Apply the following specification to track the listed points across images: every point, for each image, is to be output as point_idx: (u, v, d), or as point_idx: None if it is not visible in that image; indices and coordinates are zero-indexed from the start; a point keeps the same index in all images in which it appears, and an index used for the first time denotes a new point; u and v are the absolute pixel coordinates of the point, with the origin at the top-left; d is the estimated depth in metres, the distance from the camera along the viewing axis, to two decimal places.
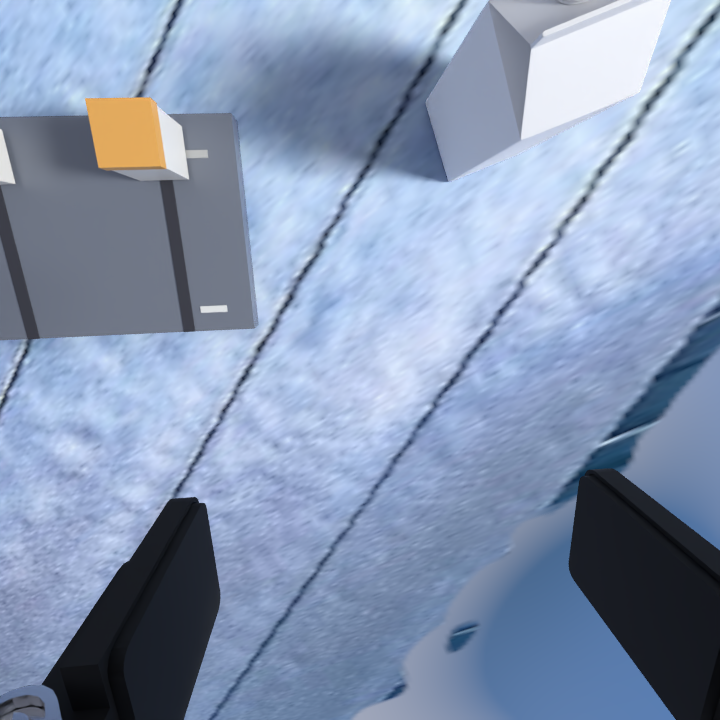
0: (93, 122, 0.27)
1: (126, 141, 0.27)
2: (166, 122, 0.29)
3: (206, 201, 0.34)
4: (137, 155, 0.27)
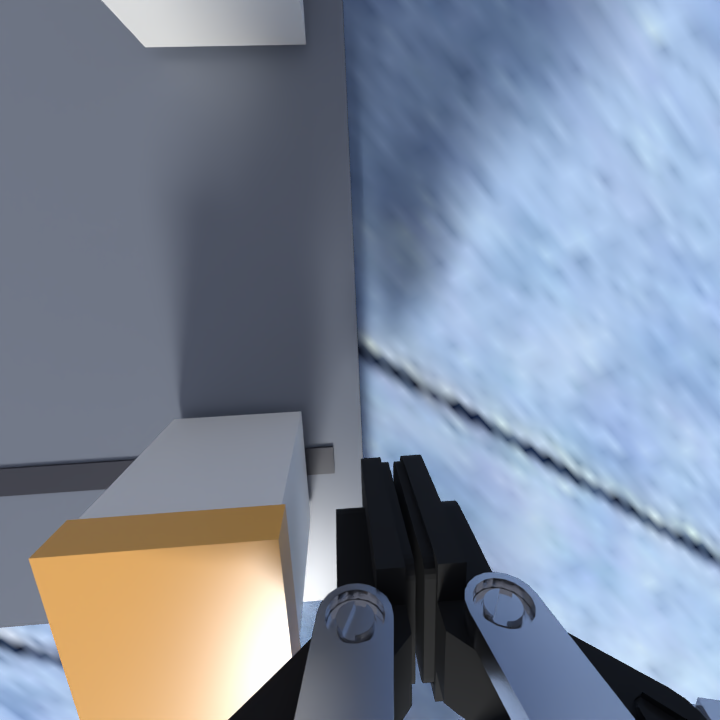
0: (198, 556, 0.07)
1: (149, 649, 0.07)
2: None
3: None
4: (105, 676, 0.07)
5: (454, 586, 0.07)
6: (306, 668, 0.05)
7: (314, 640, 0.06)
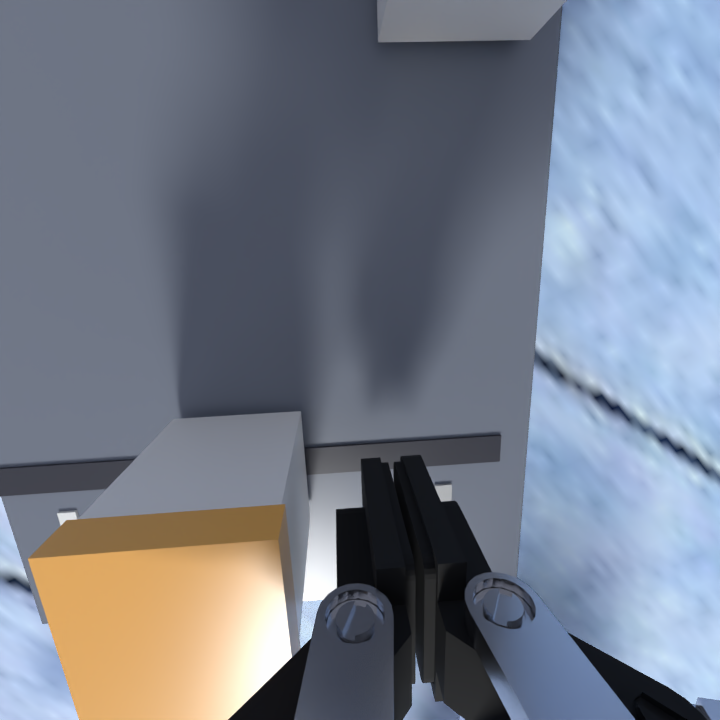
0: (197, 556, 0.07)
1: (149, 649, 0.07)
2: None
3: None
4: (105, 677, 0.07)
5: (454, 586, 0.07)
6: (306, 668, 0.05)
7: (314, 640, 0.06)
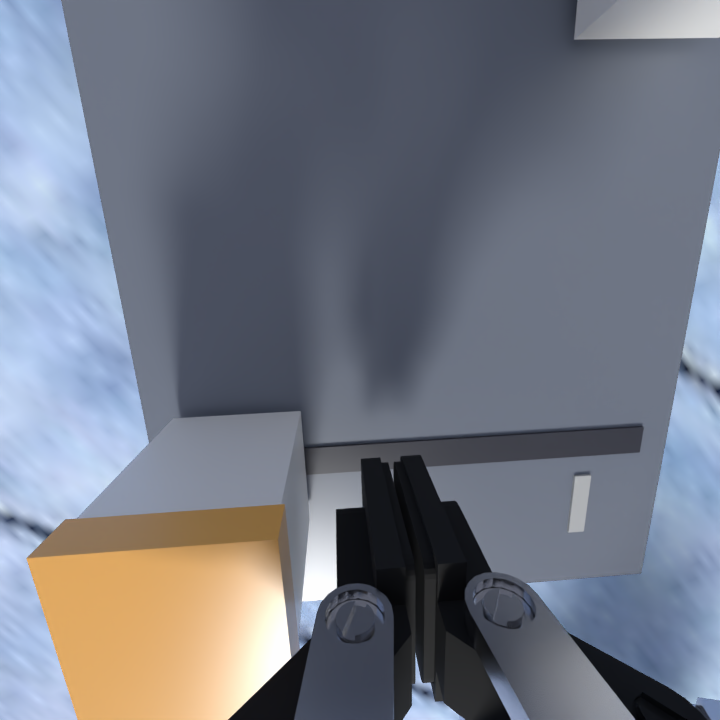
0: (197, 556, 0.07)
1: (148, 649, 0.07)
2: None
3: (480, 523, 0.15)
4: (104, 677, 0.07)
5: (454, 586, 0.07)
6: (306, 668, 0.05)
7: (314, 640, 0.06)
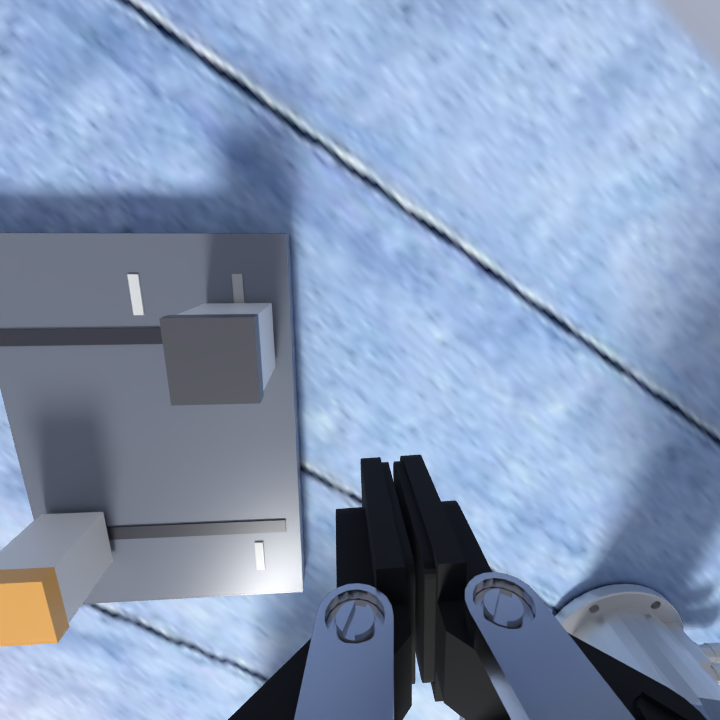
0: (14, 586, 0.21)
1: (0, 617, 0.21)
2: None
3: (209, 564, 0.29)
4: None
5: (454, 586, 0.07)
6: (306, 668, 0.05)
7: (314, 640, 0.06)
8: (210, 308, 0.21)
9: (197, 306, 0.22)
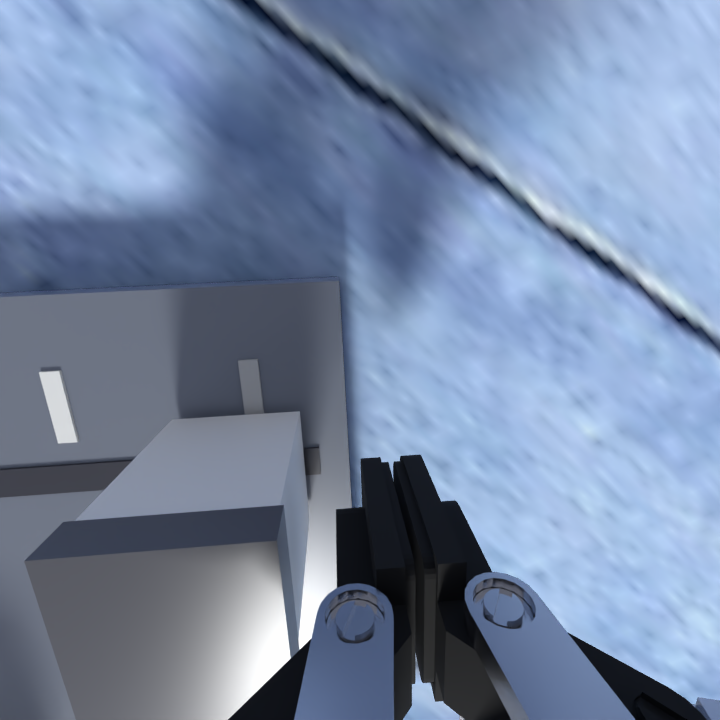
0: None
1: None
2: None
3: None
4: None
5: (454, 586, 0.07)
6: (306, 668, 0.05)
7: (314, 640, 0.06)
8: (179, 451, 0.10)
9: (155, 438, 0.11)
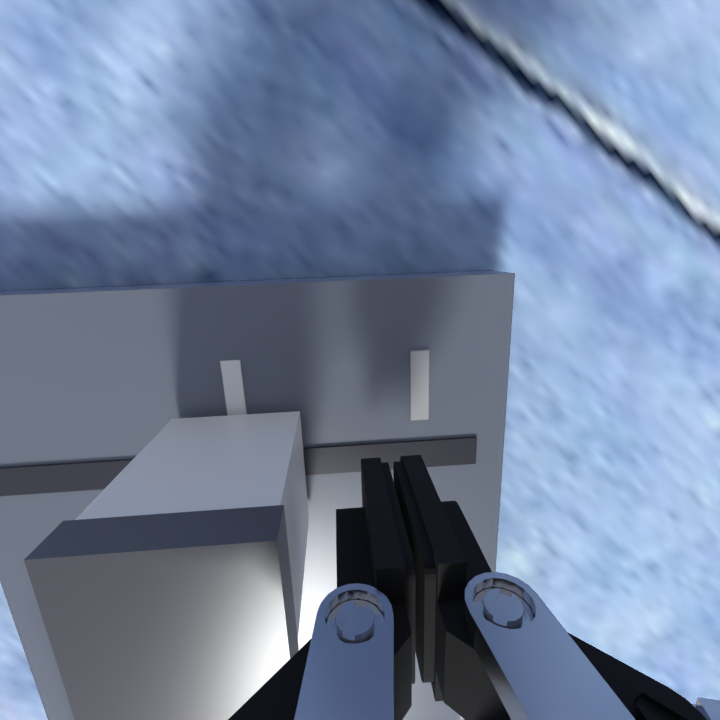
0: None
1: None
2: None
3: None
4: None
5: (454, 586, 0.07)
6: (306, 668, 0.05)
7: (314, 640, 0.06)
8: (179, 451, 0.10)
9: (155, 438, 0.11)
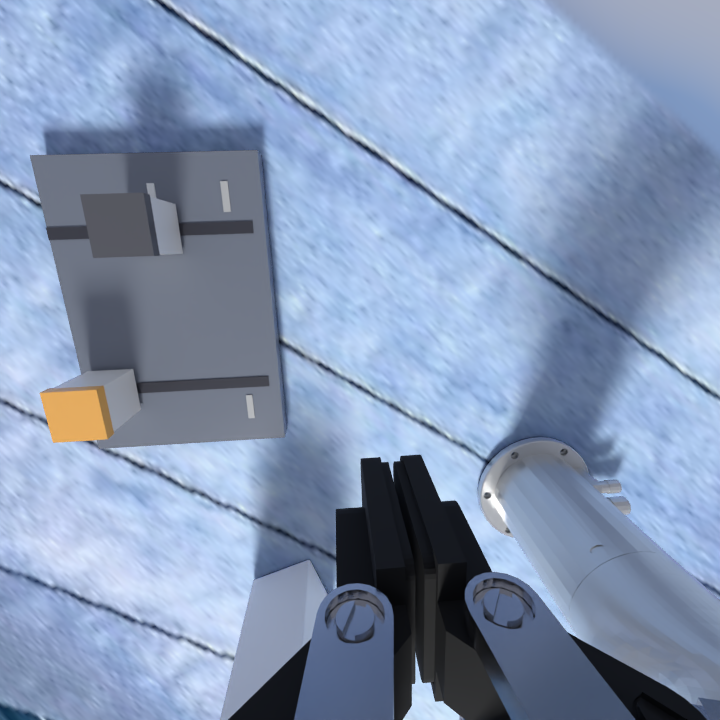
0: (78, 393, 0.31)
1: (68, 418, 0.31)
2: None
3: (212, 414, 0.38)
4: (57, 425, 0.31)
5: (454, 586, 0.07)
6: (306, 668, 0.05)
7: (314, 640, 0.06)
8: None
9: None
